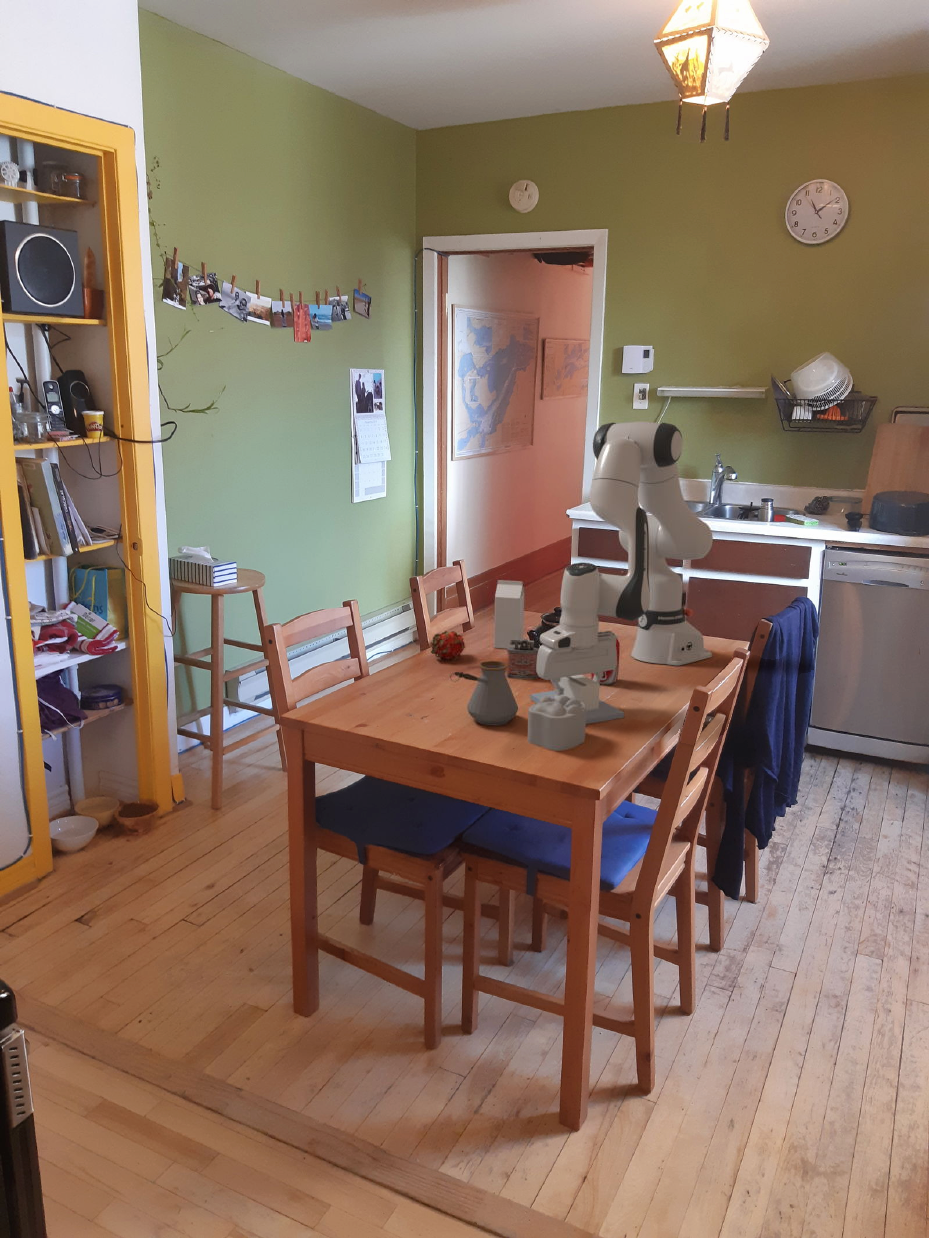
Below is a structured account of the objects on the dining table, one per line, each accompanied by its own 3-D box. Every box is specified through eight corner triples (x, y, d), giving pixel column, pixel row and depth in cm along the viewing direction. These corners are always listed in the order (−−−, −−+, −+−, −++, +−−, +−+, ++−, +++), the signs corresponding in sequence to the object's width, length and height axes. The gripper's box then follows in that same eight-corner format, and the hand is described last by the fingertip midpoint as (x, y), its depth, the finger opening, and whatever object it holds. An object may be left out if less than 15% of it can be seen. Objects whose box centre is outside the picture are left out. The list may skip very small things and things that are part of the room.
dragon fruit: (428, 668, 257) (459, 665, 266) (449, 655, 252) (479, 652, 261) (418, 639, 259) (449, 638, 268) (438, 626, 254) (468, 624, 263)
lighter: (538, 675, 247) (539, 638, 244) (537, 679, 243) (538, 641, 241) (506, 674, 247) (507, 637, 245) (506, 678, 244) (506, 640, 242)
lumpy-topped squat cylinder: (520, 740, 203) (522, 701, 201) (558, 725, 212) (559, 687, 210) (560, 753, 196) (561, 713, 194) (596, 736, 205) (598, 698, 203)
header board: (575, 691, 234) (576, 671, 233) (623, 717, 217) (625, 695, 216) (529, 699, 229) (530, 678, 227) (575, 726, 211) (576, 703, 210)
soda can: (622, 684, 240) (625, 638, 237) (596, 686, 238) (598, 640, 235) (610, 676, 247) (613, 631, 244) (585, 678, 245) (587, 633, 242)
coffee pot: (484, 707, 222) (485, 645, 219) (527, 717, 216) (529, 653, 213) (431, 734, 205) (431, 668, 202) (475, 746, 199) (476, 677, 195)
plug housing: (572, 694, 228) (573, 669, 227) (598, 708, 219) (599, 682, 217) (554, 697, 226) (555, 672, 225) (580, 711, 217) (581, 685, 215)
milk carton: (518, 650, 269) (520, 584, 265) (494, 648, 271) (495, 582, 266) (523, 643, 276) (524, 579, 271) (499, 641, 278) (500, 577, 273)
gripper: (608, 626, 226) (605, 682, 229) (533, 636, 217) (532, 694, 220) (624, 633, 220) (621, 690, 223) (548, 643, 211) (546, 702, 215)
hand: (576, 692), depth 222 cm, fingers open, 8 cm apart
